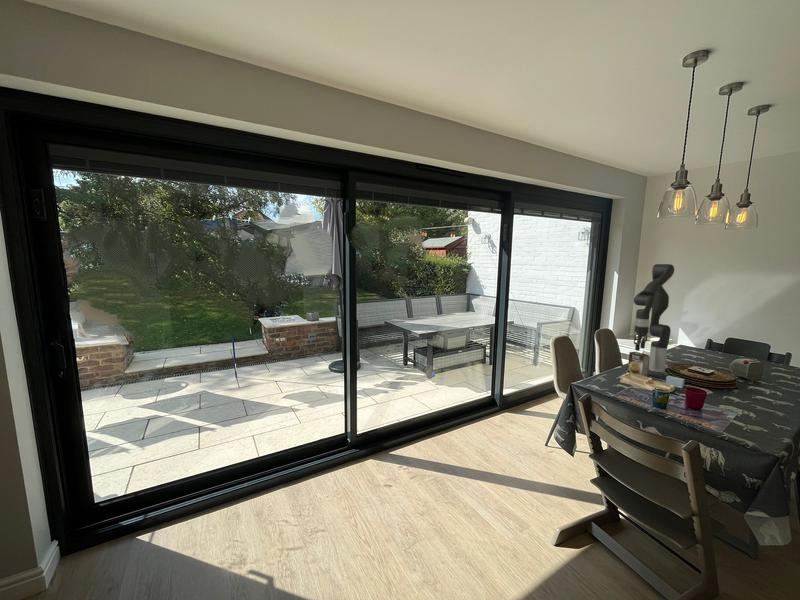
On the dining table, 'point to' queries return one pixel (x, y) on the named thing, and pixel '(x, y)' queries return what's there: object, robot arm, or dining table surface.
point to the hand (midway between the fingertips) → (639, 349)
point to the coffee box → (638, 363)
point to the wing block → (675, 381)
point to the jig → (645, 382)
